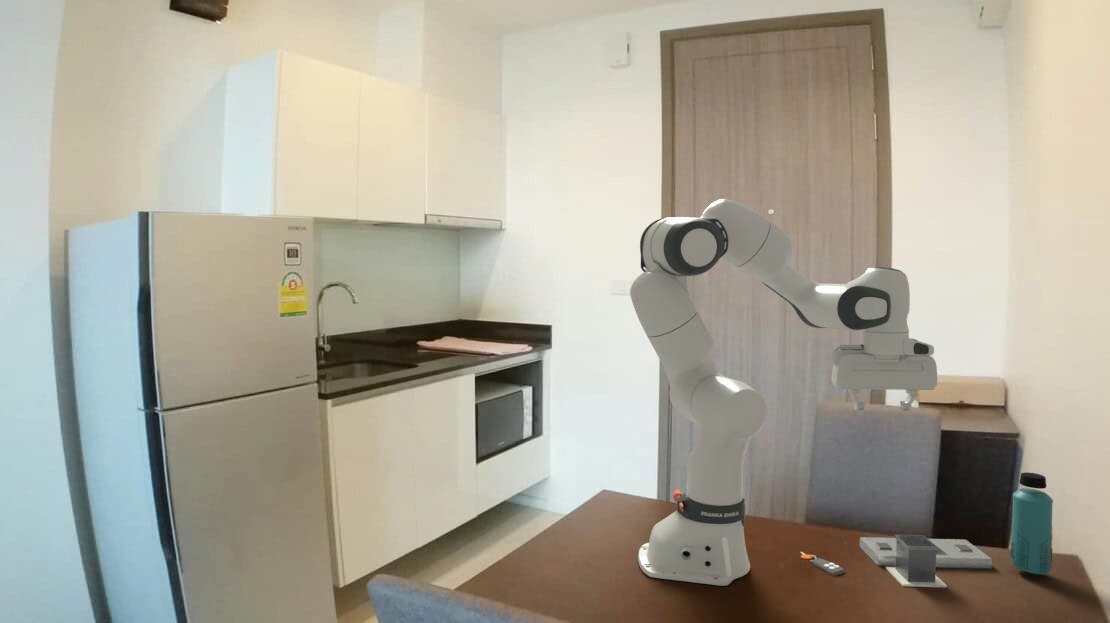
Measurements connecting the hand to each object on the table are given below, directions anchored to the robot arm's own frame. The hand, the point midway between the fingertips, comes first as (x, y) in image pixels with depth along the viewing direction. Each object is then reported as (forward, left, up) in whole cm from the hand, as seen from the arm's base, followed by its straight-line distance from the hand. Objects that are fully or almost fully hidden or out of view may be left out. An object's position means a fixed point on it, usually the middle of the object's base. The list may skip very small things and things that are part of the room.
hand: (882, 410), depth 131 cm
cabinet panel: (+8, -3, -30) cm, 32 cm away
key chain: (-15, -5, -31) cm, 35 cm away
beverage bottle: (+25, -9, -31) cm, 40 cm away
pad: (+2, -12, -30) cm, 33 cm away
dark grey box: (+2, -12, -30) cm, 32 cm away
